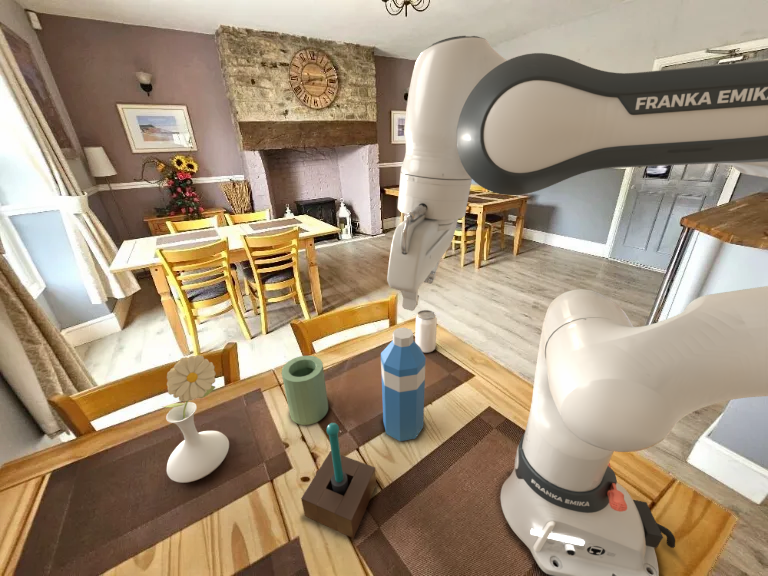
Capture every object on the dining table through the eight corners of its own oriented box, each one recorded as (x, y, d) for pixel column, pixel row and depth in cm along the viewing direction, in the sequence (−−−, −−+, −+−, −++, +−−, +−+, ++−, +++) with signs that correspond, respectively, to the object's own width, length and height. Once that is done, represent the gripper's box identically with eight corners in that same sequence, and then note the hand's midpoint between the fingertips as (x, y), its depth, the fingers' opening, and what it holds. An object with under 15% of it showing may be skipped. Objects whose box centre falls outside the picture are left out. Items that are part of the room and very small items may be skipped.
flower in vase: (169, 500, 58) (118, 398, 47) (168, 454, 66) (125, 359, 56) (243, 463, 64) (213, 366, 54) (233, 425, 73) (205, 336, 62)
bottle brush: (352, 495, 58) (344, 420, 50) (345, 510, 55) (335, 434, 47) (339, 489, 59) (329, 415, 51) (331, 504, 56) (319, 429, 48)
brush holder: (376, 484, 59) (375, 467, 57) (353, 538, 51) (351, 520, 49) (332, 467, 63) (330, 450, 60) (304, 516, 55) (301, 498, 52)
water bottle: (421, 444, 67) (424, 349, 56) (379, 438, 69) (374, 344, 58) (424, 411, 75) (428, 322, 65) (387, 406, 77) (384, 319, 67)
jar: (335, 401, 79) (330, 360, 73) (314, 429, 71) (307, 385, 66) (304, 392, 82) (297, 352, 77) (282, 418, 74) (272, 375, 69)
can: (424, 339, 103) (425, 307, 98) (439, 347, 99) (441, 314, 94) (410, 346, 99) (411, 314, 94) (425, 356, 95) (427, 322, 90)
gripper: (436, 219, 30) (419, 335, 36) (469, 191, 47) (454, 273, 53) (377, 209, 32) (371, 321, 38) (429, 185, 49) (419, 266, 55)
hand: (419, 293), depth 46 cm, fingers open, 8 cm apart
